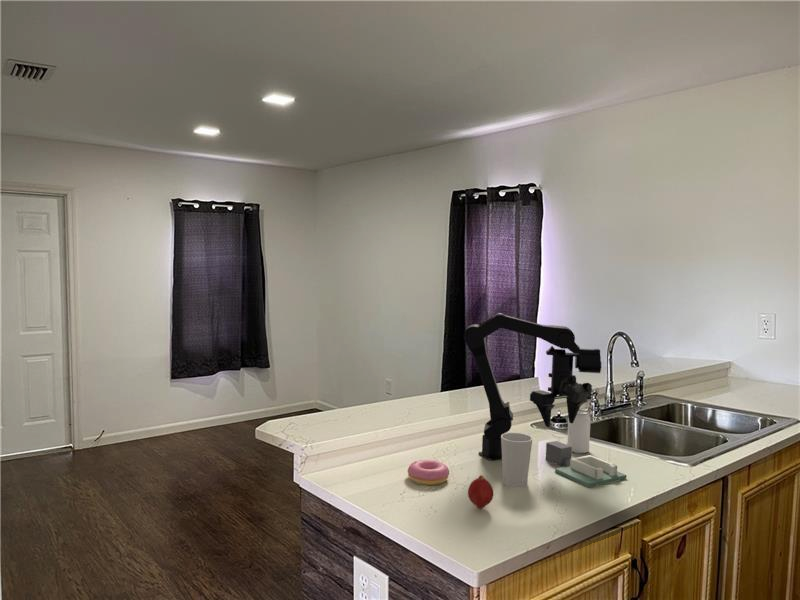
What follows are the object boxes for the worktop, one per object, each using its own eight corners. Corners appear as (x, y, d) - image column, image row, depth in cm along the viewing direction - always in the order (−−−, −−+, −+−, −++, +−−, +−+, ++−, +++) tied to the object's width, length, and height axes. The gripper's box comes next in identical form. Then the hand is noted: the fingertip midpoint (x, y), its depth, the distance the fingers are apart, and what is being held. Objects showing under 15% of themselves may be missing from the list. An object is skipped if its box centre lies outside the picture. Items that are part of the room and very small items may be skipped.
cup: (532, 479, 156) (534, 434, 155) (528, 490, 148) (530, 443, 147) (502, 475, 158) (503, 431, 158) (496, 485, 151) (498, 439, 150)
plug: (563, 467, 166) (564, 449, 165) (545, 459, 172) (546, 442, 172) (573, 465, 168) (574, 447, 167) (555, 457, 174) (556, 440, 174)
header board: (588, 487, 151) (589, 474, 151) (555, 472, 162) (555, 459, 161) (626, 478, 158) (627, 465, 158) (591, 464, 168) (592, 452, 168)
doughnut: (401, 474, 158) (401, 459, 157) (438, 470, 162) (439, 455, 161) (416, 489, 148) (417, 473, 147) (456, 484, 151) (456, 468, 151)
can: (590, 454, 177) (592, 415, 176) (567, 452, 178) (569, 413, 178) (587, 448, 183) (589, 410, 183) (566, 446, 185) (567, 408, 184)
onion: (465, 503, 139) (466, 470, 139) (489, 503, 140) (490, 470, 139) (470, 514, 134) (471, 479, 133) (495, 513, 134) (496, 479, 134)
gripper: (558, 378, 157) (555, 436, 158) (607, 373, 166) (604, 428, 167) (529, 371, 167) (527, 425, 168) (577, 367, 176) (575, 418, 177)
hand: (559, 424), depth 170 cm, fingers open, 9 cm apart
